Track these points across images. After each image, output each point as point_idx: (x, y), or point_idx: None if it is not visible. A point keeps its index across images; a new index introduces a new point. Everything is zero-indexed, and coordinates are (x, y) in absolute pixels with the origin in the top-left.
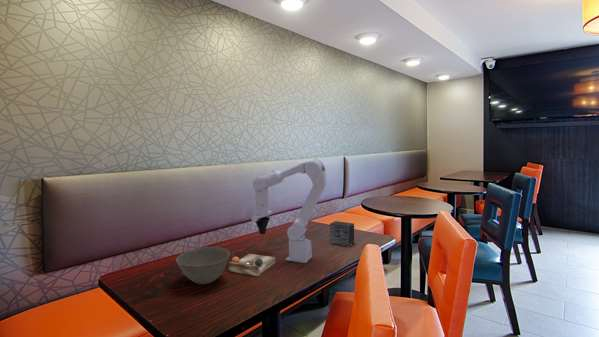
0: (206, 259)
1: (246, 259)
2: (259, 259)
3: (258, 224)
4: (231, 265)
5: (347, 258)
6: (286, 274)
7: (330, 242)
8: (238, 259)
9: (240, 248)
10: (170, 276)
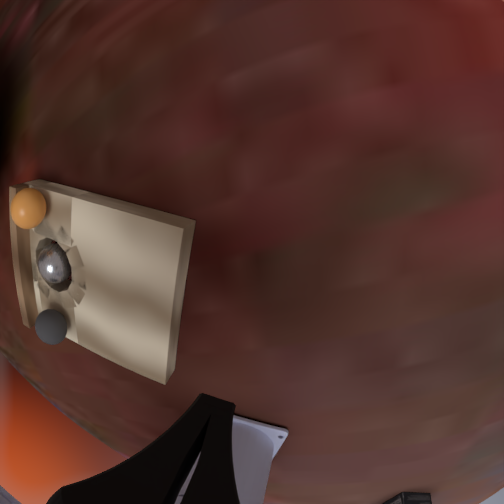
0: None
1: (95, 240)
2: (39, 337)
3: (132, 479)
4: None
5: None
6: (94, 392)
7: (402, 496)
8: (23, 228)
9: (389, 89)
10: (14, 7)
